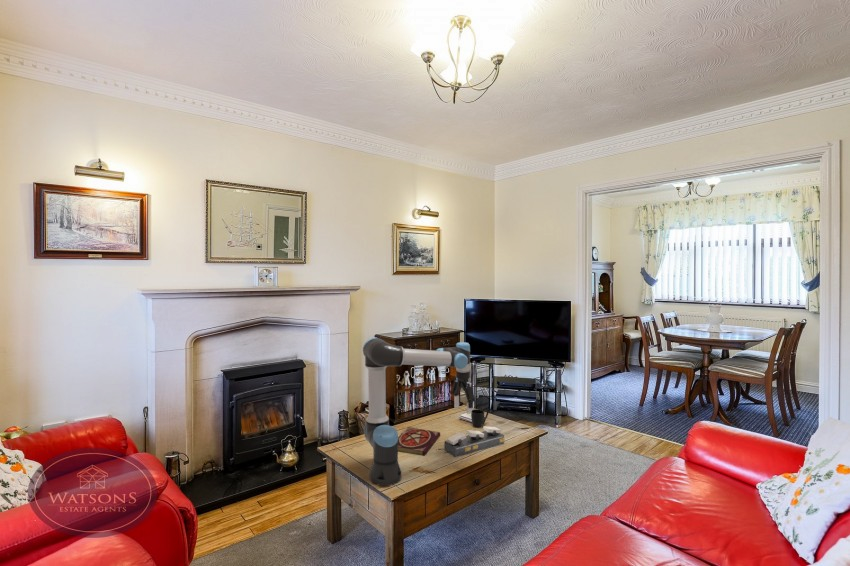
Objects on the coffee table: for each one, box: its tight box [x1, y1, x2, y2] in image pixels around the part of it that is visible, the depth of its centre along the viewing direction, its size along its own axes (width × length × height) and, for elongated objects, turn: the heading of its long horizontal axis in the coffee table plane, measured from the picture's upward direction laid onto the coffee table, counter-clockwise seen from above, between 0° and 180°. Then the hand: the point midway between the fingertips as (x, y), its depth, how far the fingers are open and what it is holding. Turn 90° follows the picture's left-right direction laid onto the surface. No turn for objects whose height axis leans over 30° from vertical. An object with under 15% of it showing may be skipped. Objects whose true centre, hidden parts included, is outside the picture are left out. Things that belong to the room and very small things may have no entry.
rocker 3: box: [482, 425, 502, 435], centre depth 243 cm, size 9×5×3 cm, turn 121°
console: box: [443, 430, 505, 458], centre depth 237 cm, size 34×10×5 cm, turn 120°
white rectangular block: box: [465, 429, 484, 439], centre depth 237 cm, size 9×5×3 cm, turn 121°
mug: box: [470, 408, 489, 429], centre depth 268 cm, size 8×12×10 cm
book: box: [398, 426, 441, 457], centre depth 242 cm, size 28×21×5 cm
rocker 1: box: [447, 431, 467, 445], centre depth 231 cm, size 9×5×3 cm, turn 120°
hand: (462, 410), depth 232 cm, fingers open, 11 cm apart
